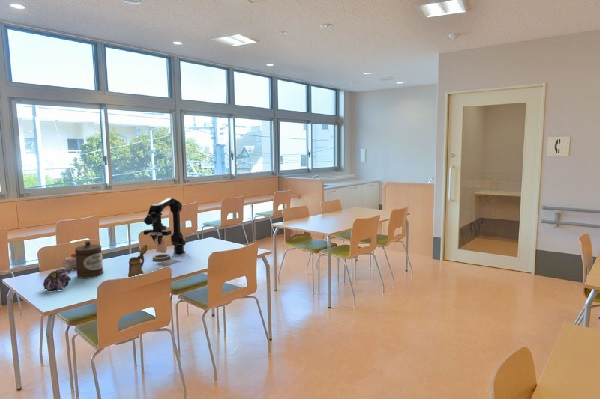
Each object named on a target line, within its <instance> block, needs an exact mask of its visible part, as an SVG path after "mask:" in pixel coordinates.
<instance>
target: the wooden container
mask: <svg viewBox="0 0 600 399" xmlns="http://www.w3.org/2000/svg"><path fill="white" fill-rule="evenodd" d="M75 254H76V268H77V269H76V276H78V277H77V278H79V277H83V278H82V279H85V278H84V277H91V278H95V277H94V276H96V277H99V276H101V275H102V274H103V273H104V268H103V265H104V264H103V256H102V245H101V244H94V243H92V244H91V241H90V240H86V241H85V242H84V245H80V246H77V247H75ZM98 275H99V276H98Z"/></svg>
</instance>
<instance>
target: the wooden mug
mask: <svg viewBox="0 0 600 399" xmlns="http://www.w3.org/2000/svg"><path fill="white" fill-rule="evenodd" d="M147 250H148V245H147V244H146V245H144V246H142V247H141V249H140V250H139V255H138V256H137V257H135V256H134V257H130V258H129V260H128V264H129V265H128V266H129V267H128V273H127V276H128V277H129V278H131V277H130V276H135V275H139V274H143V275H144V271H143V266H144V263H145V257H144V255H145V254H146V253H147Z"/></svg>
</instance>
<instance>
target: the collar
mask: <svg viewBox="0 0 600 399" xmlns="http://www.w3.org/2000/svg"><path fill="white" fill-rule="evenodd" d="M168 260H171V255H170V254H168V253H159V254H156V255H153V256H152V261H154V262H164V261H168Z"/></svg>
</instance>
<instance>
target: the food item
mask: <svg viewBox="0 0 600 399" xmlns="http://www.w3.org/2000/svg"><path fill="white" fill-rule="evenodd" d="M62 267H63V269H66V270H69V271H73V270H72V269H74V270H77V268H76V253H72V254H70V256H68V257H65V258H64V259H63V260H62Z"/></svg>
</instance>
